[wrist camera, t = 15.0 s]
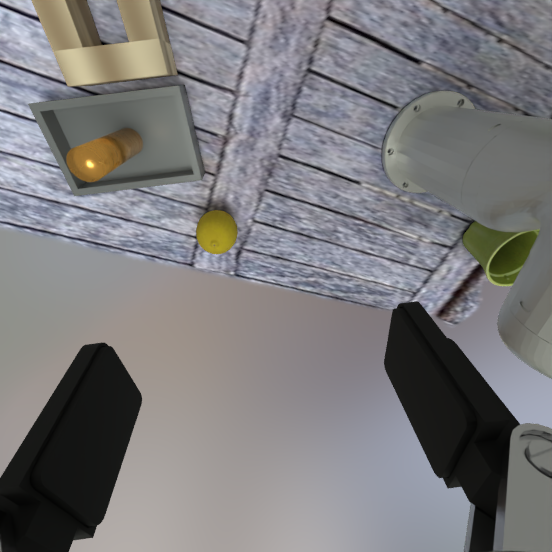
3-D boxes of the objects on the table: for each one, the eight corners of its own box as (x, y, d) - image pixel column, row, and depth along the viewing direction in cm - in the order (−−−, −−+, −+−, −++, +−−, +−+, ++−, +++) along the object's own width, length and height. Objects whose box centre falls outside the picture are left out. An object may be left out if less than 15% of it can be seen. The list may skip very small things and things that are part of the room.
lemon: (192, 213, 42) (182, 237, 36) (225, 195, 41) (221, 217, 35) (213, 242, 45) (208, 270, 39) (244, 227, 44) (244, 252, 38)
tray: (184, 85, 34) (178, 85, 31) (205, 172, 39) (201, 180, 36) (46, 101, 34) (28, 103, 31) (87, 187, 39) (74, 196, 36)
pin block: (147, -53, 28) (129, -76, 23) (177, 75, 33) (167, 74, 29) (41, -40, 27) (5, -62, 23) (90, 85, 33) (67, 86, 29)
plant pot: (447, 223, 47) (484, 248, 40) (508, 195, 45) (558, 217, 38) (455, 265, 52) (489, 295, 44) (510, 242, 50) (555, 269, 43)
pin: (137, 126, 35) (94, 144, 25) (146, 152, 36) (109, 180, 27) (112, 129, 35) (59, 149, 25) (122, 155, 36) (76, 183, 27)
